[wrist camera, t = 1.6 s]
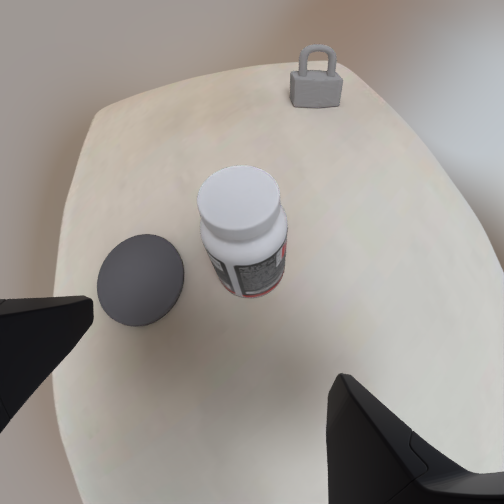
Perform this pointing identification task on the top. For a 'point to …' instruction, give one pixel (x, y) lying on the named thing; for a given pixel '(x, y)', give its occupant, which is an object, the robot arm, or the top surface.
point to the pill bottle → (244, 229)
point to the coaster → (140, 280)
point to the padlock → (315, 81)
